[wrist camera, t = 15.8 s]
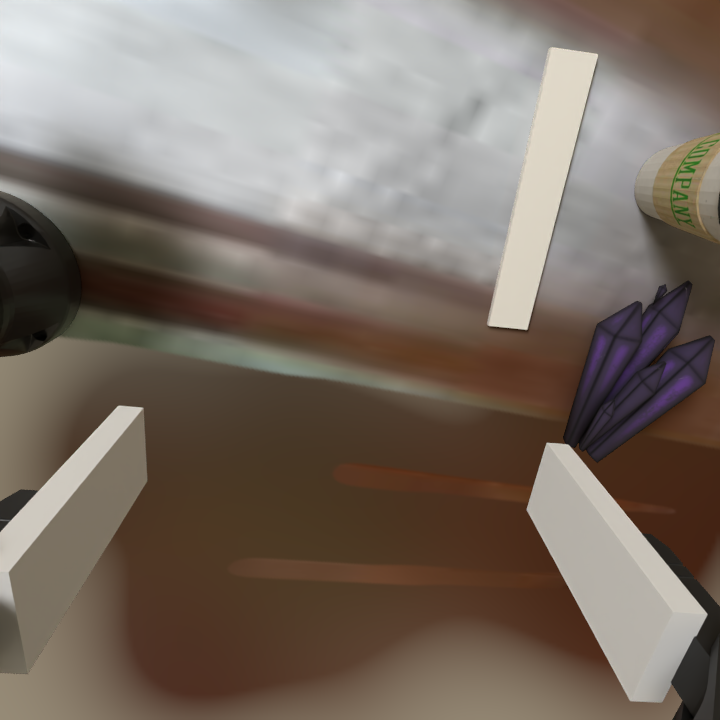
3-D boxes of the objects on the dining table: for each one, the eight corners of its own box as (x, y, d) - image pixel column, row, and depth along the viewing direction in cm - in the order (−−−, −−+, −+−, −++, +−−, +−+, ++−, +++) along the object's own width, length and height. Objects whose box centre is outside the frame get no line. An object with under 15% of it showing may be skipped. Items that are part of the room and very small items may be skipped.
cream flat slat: (486, 324, 49) (488, 325, 48) (548, 48, 40) (551, 47, 40) (525, 328, 49) (527, 329, 49) (594, 55, 40) (598, 54, 40)
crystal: (633, 491, 50) (781, 326, 42) (535, 446, 49) (667, 269, 41) (607, 451, 56) (731, 302, 48) (520, 411, 55) (631, 252, 47)
